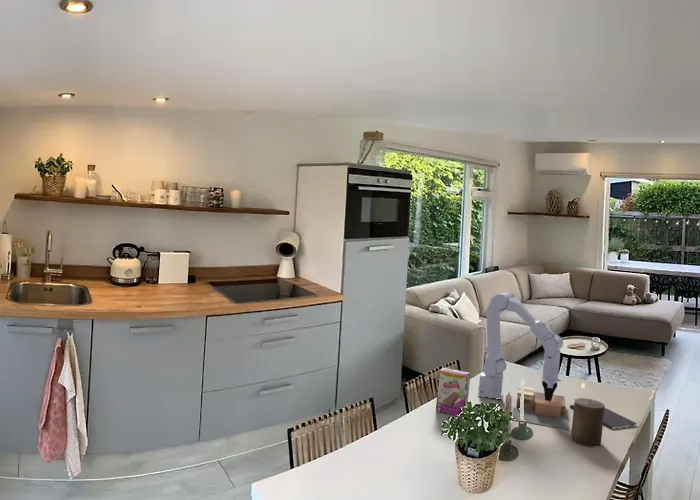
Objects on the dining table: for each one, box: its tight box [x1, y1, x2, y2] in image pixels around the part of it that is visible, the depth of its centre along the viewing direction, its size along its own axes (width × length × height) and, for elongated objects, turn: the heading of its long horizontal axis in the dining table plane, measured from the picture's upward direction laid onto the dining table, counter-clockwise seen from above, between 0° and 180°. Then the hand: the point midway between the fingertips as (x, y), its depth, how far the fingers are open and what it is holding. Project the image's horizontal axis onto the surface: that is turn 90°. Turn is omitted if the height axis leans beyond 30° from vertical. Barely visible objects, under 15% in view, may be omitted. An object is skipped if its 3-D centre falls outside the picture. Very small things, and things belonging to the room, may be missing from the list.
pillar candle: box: [570, 397, 606, 448], centre depth 188 cm, size 10×10×15 cm
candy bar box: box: [435, 367, 471, 416], centre depth 207 cm, size 11×5×16 cm, turn 65°
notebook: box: [569, 404, 637, 430], centre depth 212 cm, size 13×2×21 cm
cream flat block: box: [516, 385, 535, 400], centre depth 219 cm, size 9×6×2 cm, turn 161°
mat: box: [512, 406, 570, 431], centre depth 207 cm, size 20×13×1 cm, turn 71°
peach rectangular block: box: [535, 399, 561, 418], centre depth 208 cm, size 9×6×2 cm
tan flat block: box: [515, 391, 567, 416], centre depth 218 cm, size 18×12×4 cm, turn 71°
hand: (548, 400), depth 213 cm, fingers closed
